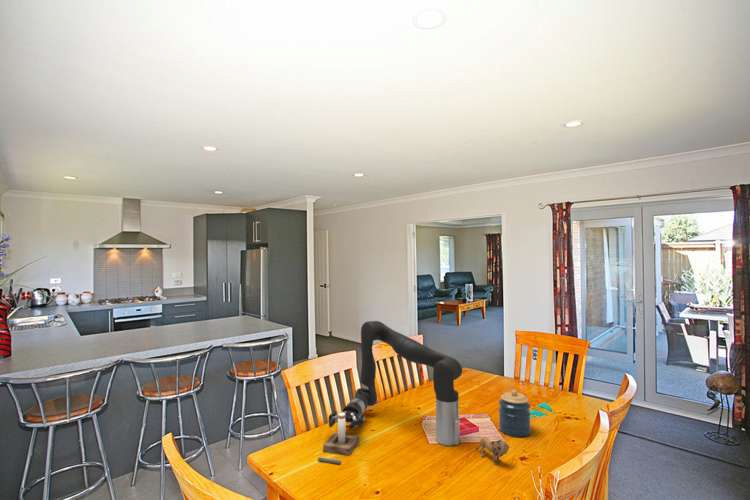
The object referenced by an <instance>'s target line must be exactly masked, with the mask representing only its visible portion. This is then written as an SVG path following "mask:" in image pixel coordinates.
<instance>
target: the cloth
mask: <svg viewBox="0 0 750 500" xmlns="http://www.w3.org/2000/svg"><path fill="white" fill-rule="evenodd" d="M548 403H552V401H549V402H548ZM548 403H546V402H545V401H544V402H542V403H540V404H538V405H537V406H538V407H540V408H543V409H546V410H548V411H550V412H553V411H552V409H551V408H550V407H549V406H548V405H547V404H548ZM535 410H537V409H532V410H529V411H530V413H531V414H530V415H536V416H539V417H538V418H542V417H541V416H543V415H547V414H545V413H542V412H540V411H535ZM536 416H530V419H531V418H532V419H534V418H533V417H536ZM547 416H548V415H547Z"/></svg>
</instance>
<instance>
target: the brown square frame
mask: <svg viewBox="0 0 750 500" xmlns="http://www.w3.org/2000/svg"><path fill="white" fill-rule="evenodd" d="M359 443H360V435H354V434H347V433H345V445H342V444H338V432H333V433H332V435H331V436H330V437H329V438H328V439H327V440H326V441H325V442H324V443H323V445H322V452H324V453H331V454H336V455H342V456H343V455H344V456H351V454H352V453H353V452H354V450H355V449H356V448H357V446H358V445H359Z"/></svg>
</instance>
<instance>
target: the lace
mask: <svg viewBox="0 0 750 500" xmlns="http://www.w3.org/2000/svg"><path fill="white" fill-rule="evenodd" d="M317 461H319V462H325V463H331V464H335V465H336V464H337V465H341V464H342V461H341V460H339V459H333V458H329V457H327V458H326V457H320V456H319V457H318V458H317Z"/></svg>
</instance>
